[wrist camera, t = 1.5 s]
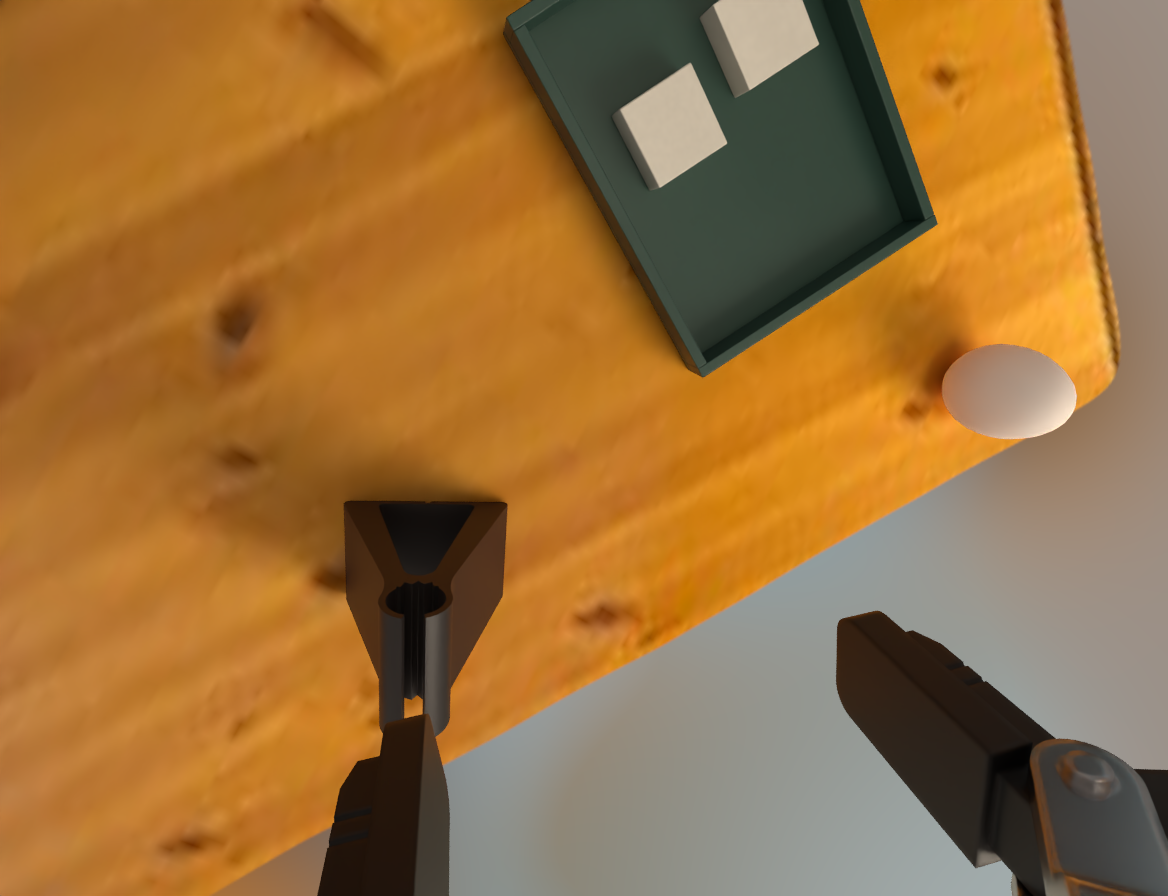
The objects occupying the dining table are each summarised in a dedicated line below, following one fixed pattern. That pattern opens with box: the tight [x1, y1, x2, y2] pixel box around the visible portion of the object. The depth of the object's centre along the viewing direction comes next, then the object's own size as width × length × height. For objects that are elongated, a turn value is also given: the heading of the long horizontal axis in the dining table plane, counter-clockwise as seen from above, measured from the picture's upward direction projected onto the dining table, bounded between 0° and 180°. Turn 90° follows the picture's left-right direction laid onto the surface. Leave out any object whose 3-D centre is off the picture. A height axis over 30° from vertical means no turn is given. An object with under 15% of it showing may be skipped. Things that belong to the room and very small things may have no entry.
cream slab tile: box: [700, 0, 819, 98], centre depth 30 cm, size 4×4×2 cm
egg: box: [942, 344, 1077, 439], centre depth 36 cm, size 5×5×8 cm
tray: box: [503, 0, 938, 377], centre depth 32 cm, size 19×15×2 cm
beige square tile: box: [612, 63, 727, 190], centre depth 31 cm, size 4×4×2 cm
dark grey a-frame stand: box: [344, 501, 507, 737], centre depth 31 cm, size 9×6×12 cm, turn 85°
